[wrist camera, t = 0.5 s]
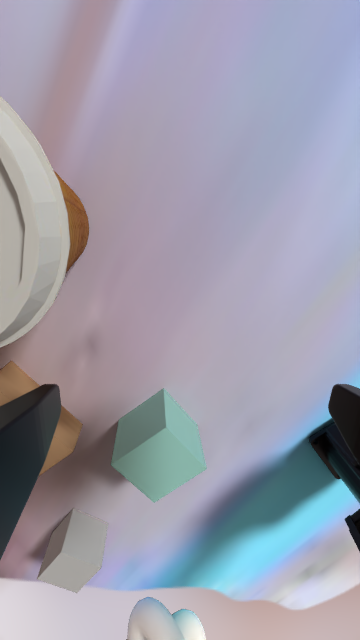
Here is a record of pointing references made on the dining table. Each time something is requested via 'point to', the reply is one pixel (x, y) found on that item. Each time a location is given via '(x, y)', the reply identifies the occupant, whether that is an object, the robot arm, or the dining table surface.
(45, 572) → the grey cube
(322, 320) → the dining table surface
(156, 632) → the white knotted shape
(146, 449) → the teal cube
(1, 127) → the disposable coffee cup
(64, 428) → the tan flat block
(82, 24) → the dining table surface
